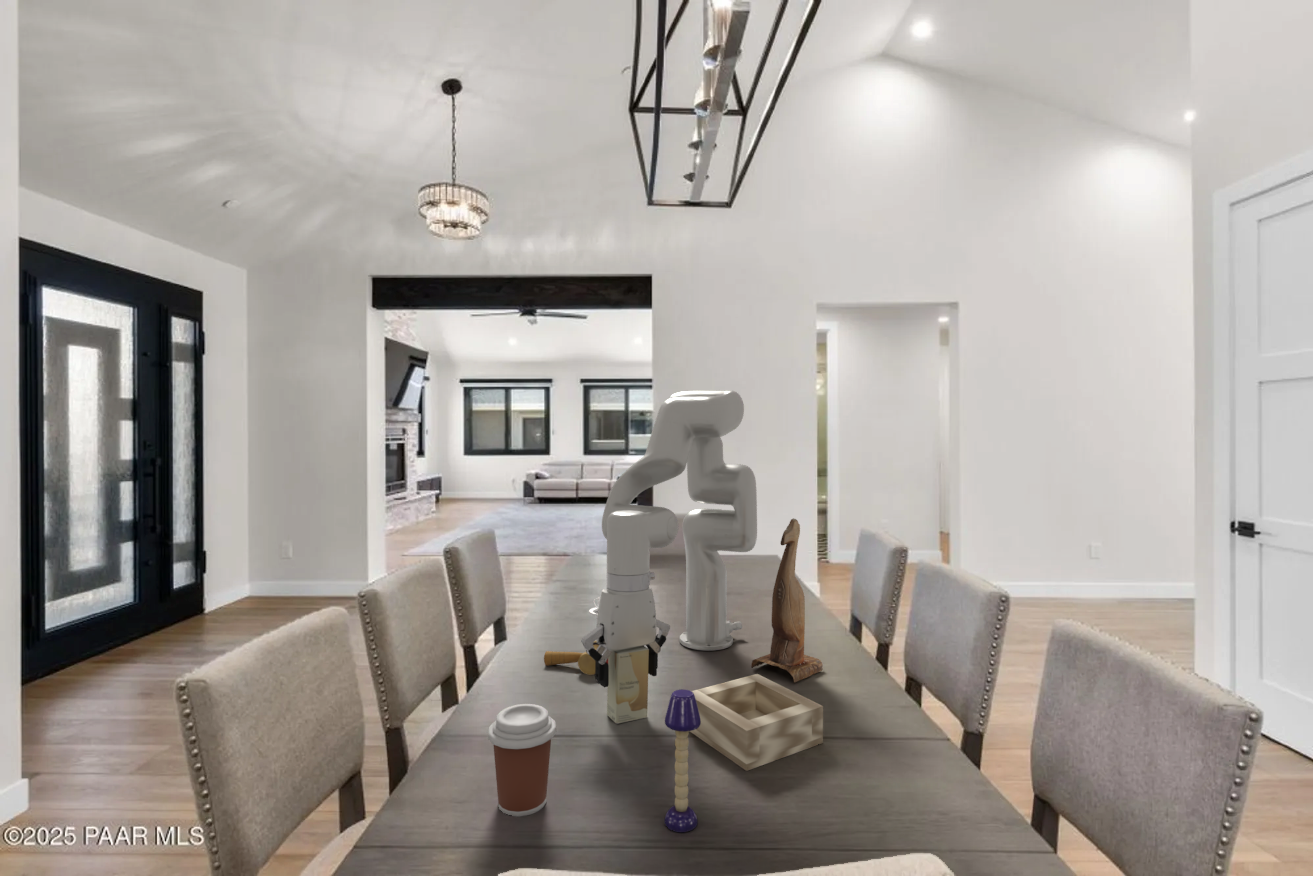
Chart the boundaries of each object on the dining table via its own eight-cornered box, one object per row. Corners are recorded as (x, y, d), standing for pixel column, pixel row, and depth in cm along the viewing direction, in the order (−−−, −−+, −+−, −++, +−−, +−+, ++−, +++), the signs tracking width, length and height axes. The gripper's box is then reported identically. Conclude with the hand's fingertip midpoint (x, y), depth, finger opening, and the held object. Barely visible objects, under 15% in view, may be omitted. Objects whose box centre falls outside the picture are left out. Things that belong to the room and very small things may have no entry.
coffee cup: (560, 783, 92) (560, 699, 92) (551, 822, 83) (551, 729, 83) (495, 784, 92) (495, 700, 91) (480, 823, 83) (480, 730, 82)
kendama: (539, 679, 133) (622, 675, 129) (537, 647, 134) (619, 642, 131) (554, 672, 141) (633, 668, 137) (552, 642, 142) (630, 637, 138)
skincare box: (616, 725, 110) (616, 654, 110) (606, 715, 114) (606, 646, 113) (649, 717, 113) (649, 648, 113) (638, 707, 117) (639, 640, 116)
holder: (756, 706, 117) (757, 673, 117) (822, 743, 104) (823, 706, 104) (684, 728, 109) (685, 692, 109) (746, 771, 95) (746, 730, 95)
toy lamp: (662, 811, 85) (663, 686, 85) (697, 809, 86) (698, 685, 85) (666, 834, 80) (666, 701, 80) (703, 832, 81) (703, 700, 81)
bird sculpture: (748, 671, 134) (749, 518, 134) (779, 656, 143) (779, 513, 142) (795, 686, 127) (797, 524, 126) (824, 669, 135) (826, 518, 135)
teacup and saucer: (625, 611, 179) (625, 597, 179) (608, 618, 172) (608, 603, 172) (600, 606, 183) (600, 592, 183) (583, 613, 177) (583, 598, 177)
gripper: (658, 572, 121) (657, 663, 121) (573, 583, 111) (572, 681, 111) (680, 580, 114) (679, 676, 114) (593, 592, 105) (592, 697, 105)
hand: (627, 679), depth 113 cm, fingers open, 9 cm apart
